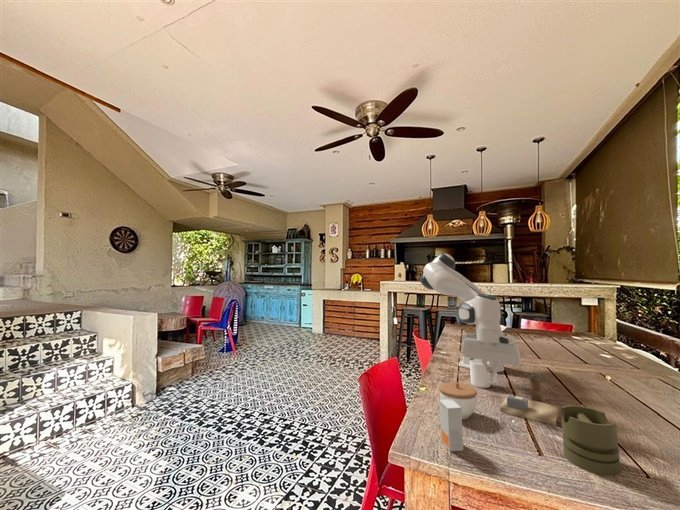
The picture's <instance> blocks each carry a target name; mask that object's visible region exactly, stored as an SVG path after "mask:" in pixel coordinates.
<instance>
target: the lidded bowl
mask: <svg viewBox="0 0 680 510" xmlns="http://www.w3.org/2000/svg"><path fill="white" fill-rule="evenodd" d="M438 389H439V396H440V399H439V400H447V399H452V400H453V401H454V402H456V403H457V404H458V405H459V406H460V407H461V413H462V420H466V419H469V418H470V417H471V416H472V414H473V413H474V412H475V411H476V408H477V396H478V395H477V394H478V392H477V390H476V387H474V386H473V385H469V384H466V383H460V382H454V381H453V382H449V381H447V382H444V383H441V384H439V387H438Z"/></svg>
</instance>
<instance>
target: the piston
mask: <svg viewBox="0 0 680 510" xmlns="http://www.w3.org/2000/svg"><path fill="white" fill-rule="evenodd" d="M561 407H562V408H561V420H562V427H561V431H562V433H563V434H562V443H563V455H564V458H565V459H566V460H567V461H568V462H569V463H570V464H572V465H574V466H575V467H577V468H578V469H581V470H583V471H585V472H589V473H592V474H594V475H599V476H604V477H616V476H619V475H620V474H621V463H620V462H621V461H620V452H619V448H618V447H619V440H618V439H619V438H618V428H617V422H614V421H612V422H611V423H610V421H609V420H608V419H607V417H606V412H604V411H600V410H598V409H595V408H591V407H586V406H582V405H564V406H563V405H562V406H561Z"/></svg>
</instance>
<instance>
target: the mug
mask: <svg viewBox="0 0 680 510" xmlns="http://www.w3.org/2000/svg"><path fill="white" fill-rule="evenodd" d="M487 364H488V366H489V367H490V363H489V362H487ZM469 372H470V373H469V374H470V375H469V376H470V384H471V386H472V387H475V388H479V389H486V388H487V389H488V388H491V386H492V385H495V384H497V383H498V381H499V375H498V372H496V371H495V373H493V375H494V380H492V379H491V373H490V372H486V367H485V366H484V364H483V361H482V360H477V359H475V360H470V369H469Z"/></svg>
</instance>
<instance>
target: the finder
mask: <svg viewBox="0 0 680 510" xmlns="http://www.w3.org/2000/svg"><path fill="white" fill-rule="evenodd" d="M507 396H508V395H507ZM507 396H506V397H507ZM528 400H529V399H528V398H526V397H525V398H524V397H522V396H521V397H520V396H516V395H512V394H509V396H508V397H507V407H511V408H515V409H519V410H523V411H527V409H528Z"/></svg>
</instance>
